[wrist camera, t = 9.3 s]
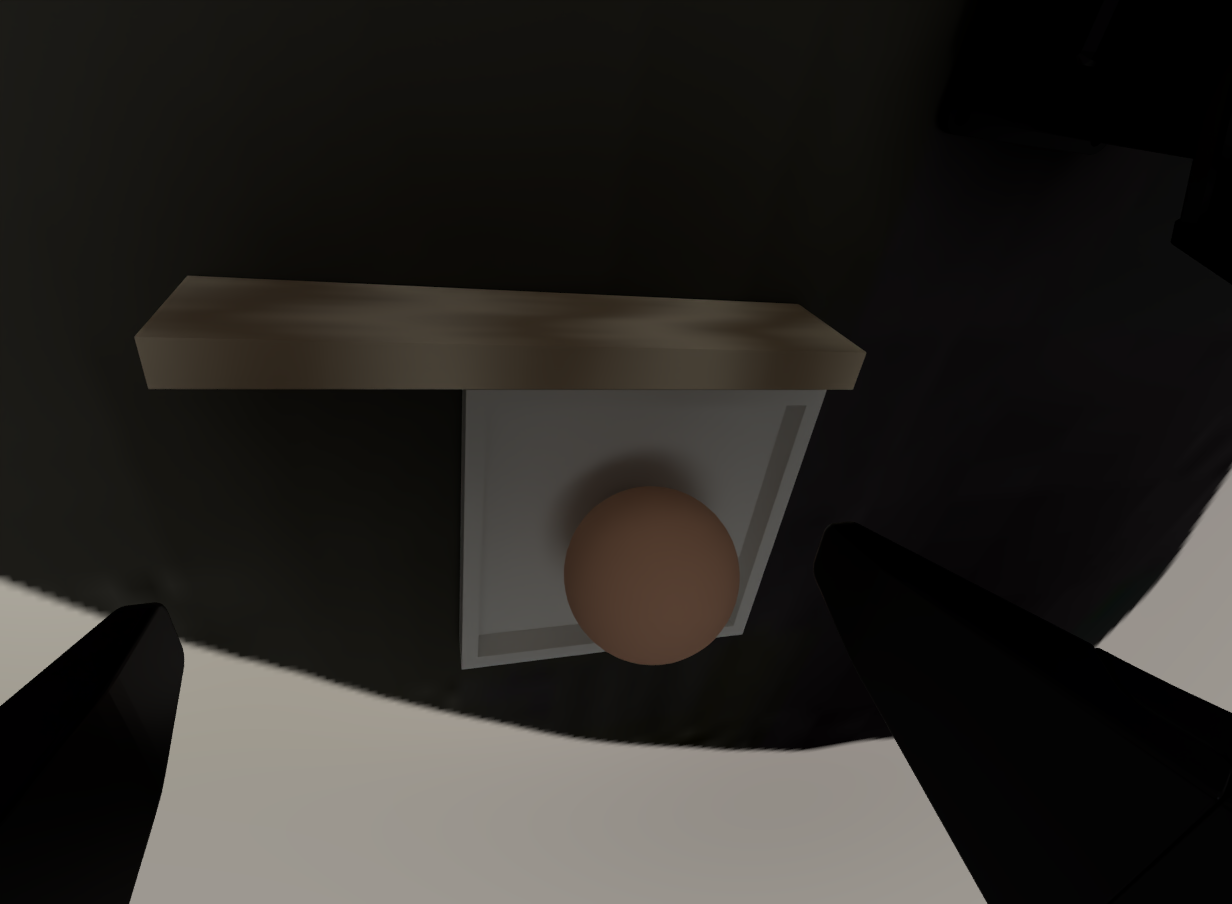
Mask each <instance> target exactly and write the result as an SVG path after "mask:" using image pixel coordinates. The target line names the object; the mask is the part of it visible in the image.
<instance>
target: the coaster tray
mask: <svg viewBox="0 0 1232 904" xmlns="http://www.w3.org/2000/svg"><path fill="white" fill-rule="evenodd" d="M826 391H827V390H714V389H462V449H461V531H460V612H459V644H460V655H461V667H462V669H470V668H478V667H486V666H494V665H502V664H510V663H518V662H526V661H534V660H542V659H550V658H558V657H565V656H573V655H581V654H589V653H597V652H605V651H604V650H603V649H602V648H601V647H599V646H598V645H597V644H595V643H594V642H593V641H592V640H591V639H590V638H589V637H588V636H587V634H586V633H585V632H584V631H583V630H582V629H581V627H580V626H579V624H578V622H577V621H576V619H575V617H574V616H573V613H572V611H571V609H570V606H569V603H568V600H567V596H566V592H565V585H564V564H565V558H566V553H567V549H568V547H569V544H570V541H571V539H572V536H573V534H574V532H575V530H576V529H577V527H578V526H579V524H580V523H581V521H582V520H583V519H584V517H585V516H586V515H587V514H588V513H589V512H590V511H591V510H592V509H593V508H594V507H595V506H596V505H598V504H599V503H601V502H602V501H603V500H605V499H607V498H609V497H610V496H612V495H614V494H617V493H619V492H621V491H624V490H627V489H631V488H636V487H643V486H657V487H666V488H670V489H674V490H678V491H681V492H683V493H686V494H688V495H690V496H692V497H693V498H695V499H697V500H698V501H700V502H702V503H703V504H704V505H705V506H707V507H708V508H709V509H710V510H711V511H712V512H713V513H715V515H716V516H717V517H718V518H719V520H720V521H721V522H722V523H723V525H724V526H725V528H726V529H727V531H728V533H729V535H730V537H731V539H732V541H733V544H734V546H735V549H736V553H737V556H738V562H739V571H740V582H739V591H738V596H737V600H736V604H735V607H734V609H733V612H732V614H731V616H730V618H729V620H728V622H727V624H726V625H725V626H724V628H723V629H722V631H721V632H720V633H719V635H718V636H717V637H724V636H732V635H740V634H743V631H744V628H745V625H746V622H747V619H748V616H749V613H750V611H751V608H752V605H753V602H754V599H755V596H756V593H757V590H758V587H759V585H760V582H761V579H762V576H763V573H764V570H765V567H766V564H767V561H768V558H769V556H770V553H771V550H772V547H773V544H774V541H775V538H776V535H777V532H778V530H779V527H780V524H781V521H782V518H783V515H784V512H785V509H786V506H787V504H788V501H789V498H790V495H791V492H792V489H793V486H794V483H795V480H796V477H797V475H798V472H799V469H800V466H801V463H802V460H803V457H804V454H805V451H806V449H807V446H808V443H809V440H810V437H811V434H812V431H813V428H814V425H815V423H816V420H817V417H818V414H819V411H820V408H821V405H822V402H823V399H824V396H825V394H826Z"/></svg>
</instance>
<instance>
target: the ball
mask: <svg viewBox="0 0 1232 904" xmlns="http://www.w3.org/2000/svg"><path fill="white" fill-rule="evenodd" d="M739 582H740V571H739V562H738V556H737V553H736V549H735V546H734V544H733V541H732V539H731V537H730V535H729V533H728V531H727V529H726V528H725V526H724V525H723V523H722V522H721V521H720V520H719V518H718V517H717V516H716V515H715V513H713V512H712V511H711V510H710V509H709V508H708V507H707V506H705V505H704V504H703V503H702V502H700V501H698V500H697V499H695V498H693V497H692V496H690V495H688V494H686V493H683V492H681V491H678V490H674V489H670V488H666V487H657V486H643V487H636V488H631V489H627V490H624V491H621V492H619V493H617V494H614V495H612V496H610V497H609V498H607V499H605V500H603V501H602V502H601V503H599V504H598V505H596V506H595V507H594V508H593V509H592V510H591V511H590V512H589V513H588V514H587V515H586V516H585V517H584V519H583V520H582V521H581V523H580V524H579V526H578V527H577V529H576V530H575V532H574V534H573V536H572V539H571V541H570V544H569V547H568V549H567V553H566V558H565V564H564V585H565V592H566V596H567V600H568V603H569V606H570V609H571V611H572V613H573V616H574V617H575V619H576V621H577V622H578V624H579V626H580V627H581V629H582V630H583V631H584V632H585V633H586V634H587V636H588V637H589V638H590V639H591V640H592V641H593V642H594V643H595V644H597V645H598V646H599V647H601V648H602V649H603V650H604V651H606V652H608V653H610V654H612V655H613V656H615V657H617V658H620V659H622V660H625V661H629V662H632V663H637V664H644V665H662V664H669V663H673V662H677V661H680V660H683V659H685V658H688V657H690V656H692V655H694V654H695V653H697V652H699V651H700V650H702V649H703V648H705V647H706V646H707V645H709V644H710V643H711V642H712V641H713V640H714V639H715V638H716V637H717V636H718V635H719V633H720V632H721V631H722V629H723V628H724V626H725V625H726V624H727V622H728V620H729V618H730V616H731V614H732V612H733V609H734V607H735V604H736V600H737V596H738V591H739Z"/></svg>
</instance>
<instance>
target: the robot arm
mask: <svg viewBox="0 0 1232 904" xmlns="http://www.w3.org/2000/svg"><path fill="white" fill-rule="evenodd" d="M959 109H961V114H960V117H959V119H958V120H957V121H956V122H955V115H956V113H957V112H958V110H959ZM939 127H940V128H941V130H942V131H944V132H946V133H950V134H954V135H961V136H967V137H974V138H981V139H988V140H994V141H1001V142H1008V143H1014V144H1021V145H1028V146H1034V147H1041V148H1048V149H1054V150H1061V151H1068V152H1075V153H1081V154H1088V155H1092V154H1096V153H1097V152H1099V151H1101V150H1102V149H1103V148H1104V147H1105V145H1106V144H1110V145H1116V146H1121V147H1127V148H1133V149H1139V150H1145V151H1151V152H1156V153H1162V154H1168V155H1174V156H1180V157H1186V158H1191V159H1193V162H1192V167H1191V171H1190V176H1189V181H1188V185H1187V190H1186V195H1185V199H1184V204H1183V209H1182V213H1181V218H1180V219H1178V220H1177V221H1175V224H1174V229H1173V234H1172V239H1171V243H1172V244H1173V245H1174V246H1176V247H1177V248H1179V249H1180V250H1182V251H1183V252H1185V253H1186V254H1188V255H1189V256H1190V257H1192V258H1193V259H1195V260H1196V261H1198V262H1199V263H1201V264H1202V265H1204V266H1205V267H1207V268H1208V269H1210V270H1211V271H1213V272H1214V273H1216V274H1217V275H1219V276H1220V277H1221V278H1223V279H1224V280H1226V281H1227V282H1229V283H1230V284H1232V0H980V2H979V5H978V8H977V11H976V13H975V16H974V19H973V22H972V25H971V27H970V30H969V33H968V36H967V39H966V41H965V44H964V47H963V50H962V52H961V55H960V58H959V61H958V64H957V66H956V69H955V72H954V75H953V78H952V80H951V83H950V86H949V89H948V92H947V94H946V97H945V100H944V103H943V105H942V108H941V111H940V115H939ZM813 572H814V577H815V580H816V582H817V584H818V587H819V589H820V591H821V593H822V596H823V598H824V600H825V602H826V605H827V607H828V609H829V612H830V614H831V616H832V618H833V621H834V623H835V625H836V628H837V630H838V632H839V634H840V637H841V639H842V641H843V644H844V646H845V648H846V650H847V652H848V655H849V657H850V659H851V661H852V663H853V665H854V667H855V669H856V671H857V672H858V674H859V676H860V678H861V680H862V682H863V683H864V685H865V687H866V689H867V691H868V692H869V694H870V696H871V698H872V699H873V701H874V703H875V705H876V707H877V708H878V710H879V712H880V714H881V715H882V717H883V719H884V721H885V723H886V724H887V726H888V728H889V730H890V731H891V733H892V735H893V737H894V739H895V740H896V742H897V744H898V746H899V747H900V749H901V751H902V753H903V754H904V756H905V758H906V760H907V762H908V763H909V765H910V767H911V769H912V770H913V772H914V774H915V776H916V777H917V779H918V781H919V783H920V785H921V786H922V788H923V790H924V792H925V794H926V795H927V797H928V799H929V801H930V802H931V804H932V806H933V808H934V810H935V811H936V813H937V815H938V817H939V818H940V820H941V822H942V824H943V826H944V827H945V829H946V831H947V832H948V834H949V836H950V838H951V840H952V842H953V843H954V845H955V847H956V849H957V850H958V852H959V854H960V856H961V857H962V859H963V861H964V863H965V865H966V866H967V868H968V870H969V872H970V873H971V875H972V877H973V879H974V881H975V882H976V884H977V886H978V888H979V890H980V891H981V893H982V894H983V897H984V898H985V900H986V902H987V904H1232V713H1231V712H1228V711H1226V710H1224V709H1222V708H1220V707H1218V706H1216V705H1214V704H1211V703H1209V702H1207V701H1205V700H1203V699H1201V698H1198V697H1197V696H1194V695H1192V694H1190V693H1188V692H1186V691H1184V690H1182V689H1179V688H1177V687H1175V686H1173V685H1171V684H1169V683H1167V682H1165V681H1163V680H1161V679H1159V678H1157V677H1155V676H1153V675H1151V674H1149V673H1147V672H1145V671H1143V670H1141V669H1139V668H1137V667H1135V666H1133V665H1131V664H1129V663H1127V662H1125V661H1123V660H1121V659H1119V658H1117V657H1116V656H1114V655H1112V654H1110V653H1108V652H1106V651H1104V650H1102V649H1100V648H1094V646H1093V645H1092V644H1090V643H1088V642H1086V641H1084V640H1083V639H1081V638H1079V637H1077V636H1075V635H1073V634H1071V633H1069V632H1067V631H1065V630H1063V629H1061V628H1059V627H1057V626H1055V625H1053V624H1052V623H1050V622H1048V621H1046V620H1044V619H1042V618H1040V617H1038V616H1036V615H1034V614H1032V613H1030V612H1028V611H1026V610H1024V609H1022V608H1021V607H1019V606H1017V605H1015V604H1013V603H1011V602H1009V601H1007V600H1005V599H1003V598H1001V597H999V596H997V595H995V594H993V593H991V592H990V591H988V590H986V589H984V588H982V587H980V586H978V585H976V584H974V583H972V582H970V581H968V580H966V579H964V578H962V577H960V576H959V575H957V574H955V573H953V572H951V571H949V570H947V569H945V568H943V567H941V566H939V565H937V564H935V563H933V562H931V561H929V560H928V559H926V558H924V557H922V556H920V555H918V554H916V553H914V552H912V551H910V550H908V549H906V548H904V547H902V546H900V545H898V544H897V543H895V542H893V541H891V540H889V539H887V538H885V537H883V536H881V535H879V534H877V533H875V532H873V531H871V530H869V529H868V528H866V527H864V526H862V525H860V524H858V523H856V522H841V523H833V524H830V525H828V526H827V528H826V529H825V531H824V533H823V536H822V539H821V542H820V545H819V548H818V551H817V554H816V557H815V559H814V563H813ZM183 669H184V652H183V648H182V645H181V643H180V640H179V638H178V635H177V633H176V630H175V628H174V626H173V623H172V621H171V618H170V616H169V613H168V611H167V609H166V608H165V607H164V606H163V605H162V604H160V603H145V604H137V605H128V606H124V607H120V608H118V609H117V610H115V611H114V612H112V613H111V614H110V615H109V616H108V617H106V618H105V619H104V620H103V621H102V622H101V623H99V624H98V625H97V626H96V627H95V628H93V629H92V630H91V631H90V632H89V633H87V634H86V635H85V636H84V637H83V638H82V639H80V640H79V641H78V642H77V643H75V644H74V645H73V646H72V647H71V648H70V649H68V650H67V651H66V652H65V653H63V654H62V655H61V656H60V657H59V658H57V659H56V660H55V661H54V662H53V663H51V664H50V665H49V666H48V667H47V668H46V669H44V670H43V671H42V672H41V673H39V674H38V675H37V676H36V677H35V678H33V679H32V680H31V681H30V682H29V683H28V684H26V685H25V686H24V687H23V688H21V689H20V690H19V691H18V692H17V693H15V694H14V695H13V696H12V697H11V698H9V699H8V700H7V701H6V702H5V703H3V704H2V705H1V706H0V904H129V902H130V899H131V896H132V892H133V889H134V886H135V882H136V879H137V876H138V872H139V869H140V866H141V862H142V859H143V856H144V852H145V849H146V845H147V842H148V839H149V836H150V832H151V829H152V825H153V822H154V819H155V815H156V812H157V808H158V804H159V801H160V797H161V793H162V789H163V784H164V778H165V773H166V768H167V763H168V757H169V751H170V745H171V739H172V733H173V728H174V721H175V716H176V710H177V704H178V699H179V693H180V687H181V681H182V675H183Z"/></svg>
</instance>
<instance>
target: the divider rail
mask: <svg viewBox="0 0 1232 904" xmlns="http://www.w3.org/2000/svg"><path fill="white" fill-rule="evenodd" d="M134 338H135V342H136V345H137V349H138V353H139V356H140V360H141V363H142V367H143V371H144V374H145V378H146V382H147V385H148V389H714V390H853V388H854V385H855V382H856V380H857V377H858V374H859V372H860V369H861V366H862V363H863V361H864V358H865V355H866V352H865V351H864V350H862V349H861V348H859V347H858V346H857V345H855V344H854V343H852V342H851V341H850V340H848V339H847V338H845V337H844V336H843V335H841V334H840V333H838V332H837V331H835V330H834V329H833V328H831V327H830V326H828V325H827V324H826V323H824V322H823V321H821V320H820V319H819V318H817V317H816V316H814V315H813V314H812V313H810V312H809V311H807V310H806V309H805V308H803V307H802V306H800V305H799V304H787V303H766V302H744V301H723V300H701V299H680V298H658V297H637V296H615V295H594V294H572V293H551V292H529V291H508V290H486V289H465V288H443V287H422V286H400V285H379V284H357V283H336V282H314V281H293V280H271V279H250V278H228V277H207V276H187V277H186V278H185V279H184V280H183V281H182V282H181V284H180V285H179V286H178V287H177V288H176V289H175V290H174V292H173V293H172V294H171V295H170V296H169V297H168V299H167V300H166V301H165V302H164V303H163V304H162V305H161V307H160V308H159V309H158V310H157V311H156V312H155V314H154V315H153V316H152V317H151V318H150V319H149V320H148V322H147V323H146V324H145V325H144V326H143V327H142V329H141V330H140V331H139V332H138V333H137V334H136V335H135V337H134Z"/></svg>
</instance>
